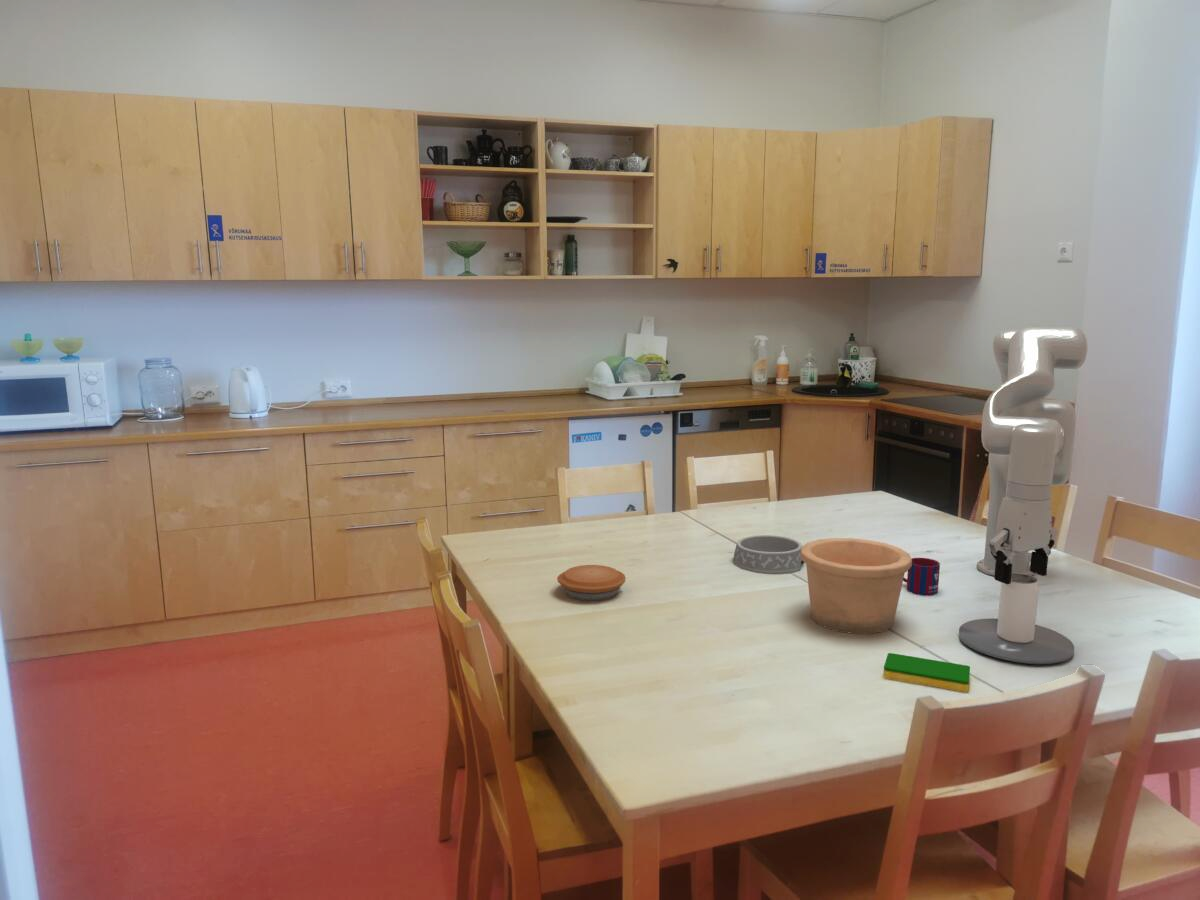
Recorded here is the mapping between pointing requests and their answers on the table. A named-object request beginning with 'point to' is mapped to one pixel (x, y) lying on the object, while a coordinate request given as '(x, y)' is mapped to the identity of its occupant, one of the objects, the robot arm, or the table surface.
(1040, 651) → the dish
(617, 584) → the pie
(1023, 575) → the can
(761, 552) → the dog bowl
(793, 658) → the table surface
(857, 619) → the pottery
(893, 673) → the dish sponge
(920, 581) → the mug
